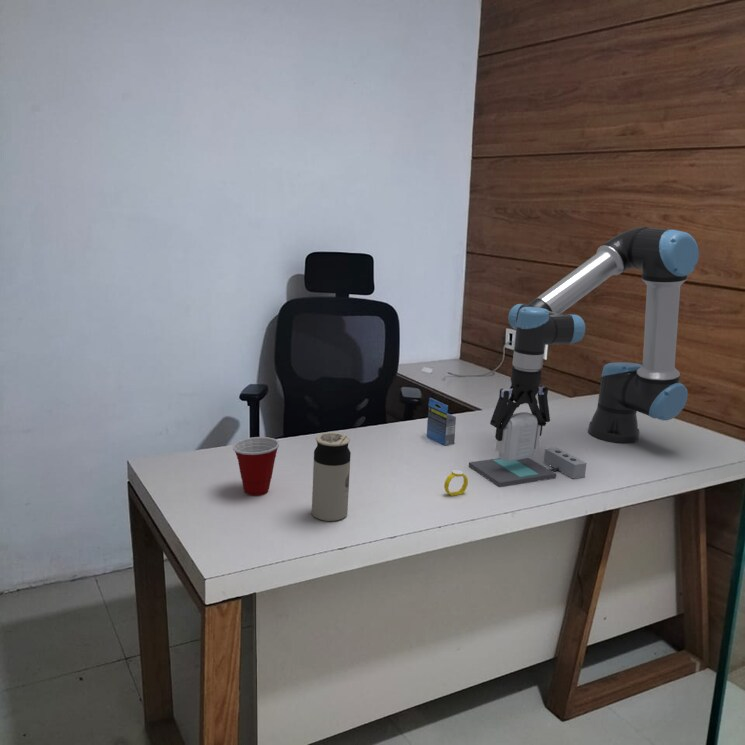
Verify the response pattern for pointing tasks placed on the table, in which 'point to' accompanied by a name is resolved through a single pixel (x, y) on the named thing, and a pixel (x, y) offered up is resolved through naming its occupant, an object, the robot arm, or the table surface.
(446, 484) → the watch
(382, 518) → the table surface
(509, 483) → the pad
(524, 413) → the photo printer
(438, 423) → the label tape box
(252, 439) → the plastic cup
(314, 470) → the travel mug
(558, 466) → the power strip
